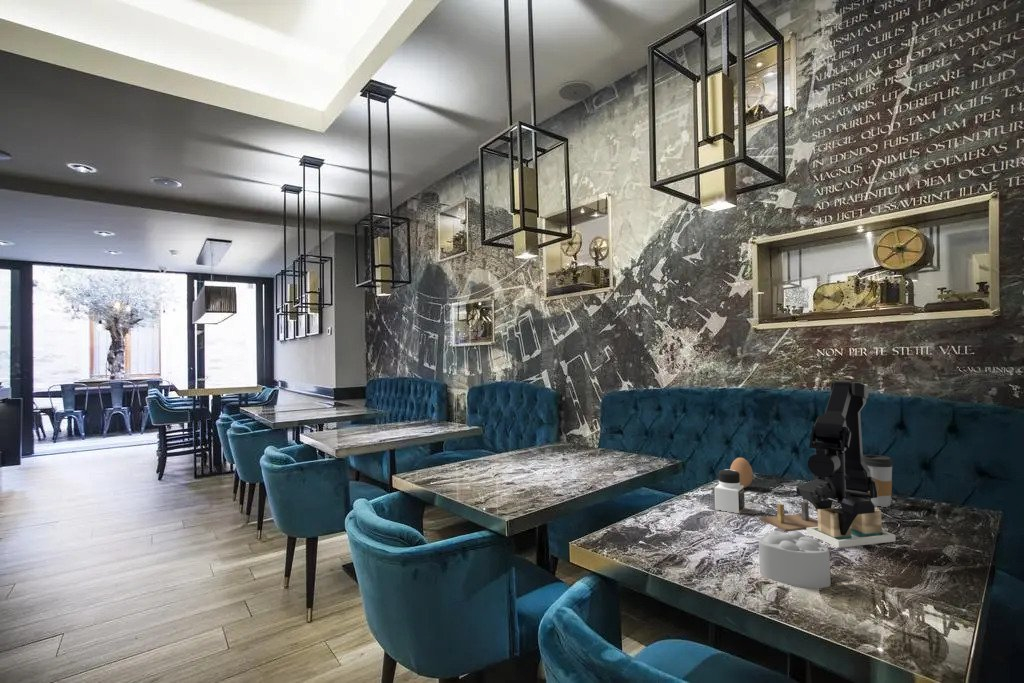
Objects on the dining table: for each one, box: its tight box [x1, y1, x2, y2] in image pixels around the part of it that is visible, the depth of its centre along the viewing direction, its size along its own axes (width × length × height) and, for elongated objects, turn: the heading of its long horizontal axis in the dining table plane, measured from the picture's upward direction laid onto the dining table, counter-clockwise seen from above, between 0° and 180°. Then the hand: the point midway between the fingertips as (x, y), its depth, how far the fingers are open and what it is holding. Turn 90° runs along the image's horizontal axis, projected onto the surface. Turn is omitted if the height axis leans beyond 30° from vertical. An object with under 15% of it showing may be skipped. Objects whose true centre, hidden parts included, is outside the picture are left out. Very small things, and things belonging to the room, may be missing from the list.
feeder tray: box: [805, 527, 897, 549], centre depth 127 cm, size 17×10×2 cm, turn 102°
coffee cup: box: [863, 454, 894, 508], centre depth 156 cm, size 8×8×15 cm
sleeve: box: [851, 508, 883, 537], centre depth 128 cm, size 5×5×7 cm
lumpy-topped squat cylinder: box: [758, 530, 832, 589], centre depth 107 cm, size 10×13×9 cm
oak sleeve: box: [816, 507, 852, 540], centre depth 126 cm, size 5×5×7 cm
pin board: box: [758, 501, 818, 532], centre depth 139 cm, size 14×10×6 cm
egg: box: [729, 457, 754, 489], centre depth 178 cm, size 8×8×11 cm
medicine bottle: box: [714, 468, 746, 514], centre depth 154 cm, size 7×7×12 cm
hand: (834, 531), depth 126 cm, fingers closed on oak sleeve, 5 cm apart
